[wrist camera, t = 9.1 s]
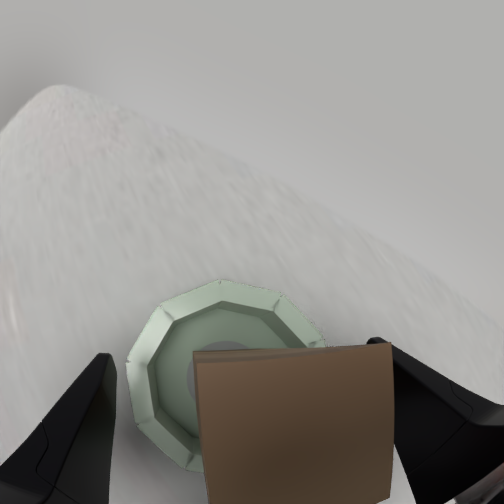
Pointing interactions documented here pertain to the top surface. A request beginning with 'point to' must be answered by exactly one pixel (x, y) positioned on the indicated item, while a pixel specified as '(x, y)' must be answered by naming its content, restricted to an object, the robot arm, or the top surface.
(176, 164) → the top surface
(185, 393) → the pale green faceted bowl
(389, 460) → the layered tan brick
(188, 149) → the top surface
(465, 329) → the top surface
